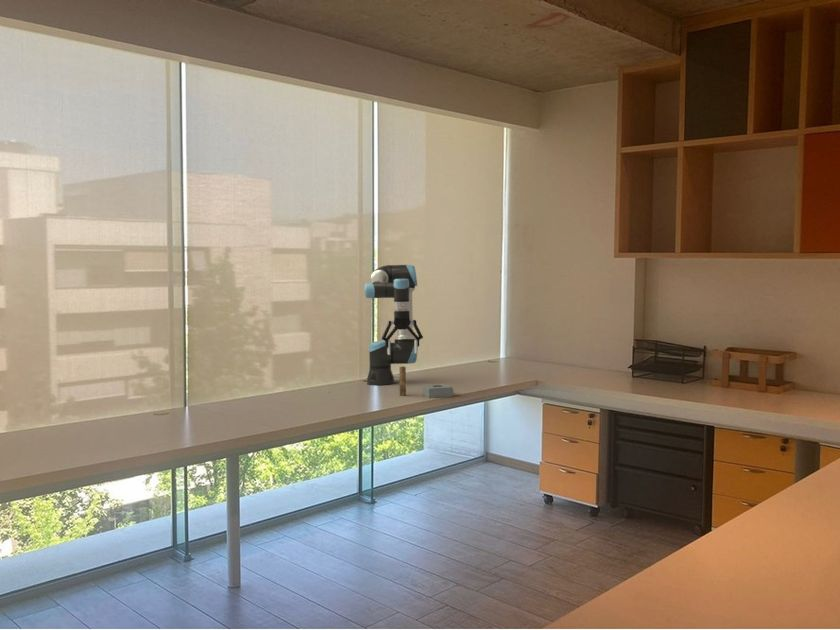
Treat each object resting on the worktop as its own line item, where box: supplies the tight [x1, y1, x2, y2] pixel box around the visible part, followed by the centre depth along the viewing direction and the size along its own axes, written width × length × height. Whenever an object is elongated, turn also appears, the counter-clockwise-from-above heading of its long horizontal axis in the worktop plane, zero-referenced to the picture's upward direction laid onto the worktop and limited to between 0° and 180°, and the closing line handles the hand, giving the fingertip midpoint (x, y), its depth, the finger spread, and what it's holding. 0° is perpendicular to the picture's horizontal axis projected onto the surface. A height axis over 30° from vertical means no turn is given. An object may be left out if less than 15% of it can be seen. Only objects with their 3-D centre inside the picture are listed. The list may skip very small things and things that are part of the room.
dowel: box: [398, 366, 407, 397], centre depth 370 cm, size 3×3×14 cm
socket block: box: [422, 383, 454, 399], centre depth 369 cm, size 12×12×4 cm
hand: (402, 354), depth 369 cm, fingers open, 13 cm apart
